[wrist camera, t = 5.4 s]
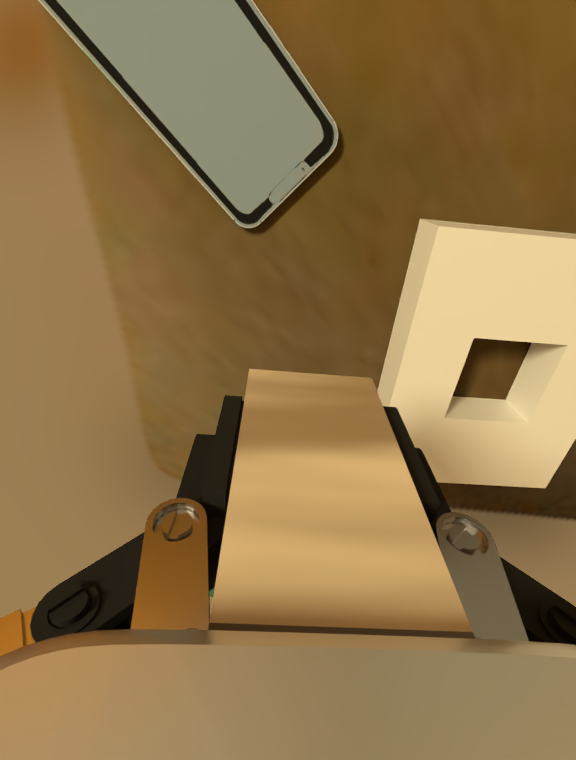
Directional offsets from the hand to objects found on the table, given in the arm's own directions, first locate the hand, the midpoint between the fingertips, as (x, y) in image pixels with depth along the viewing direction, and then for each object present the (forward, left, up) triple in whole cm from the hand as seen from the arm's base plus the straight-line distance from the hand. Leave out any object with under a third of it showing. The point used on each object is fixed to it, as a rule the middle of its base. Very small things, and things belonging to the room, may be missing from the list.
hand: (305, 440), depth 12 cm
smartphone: (-12, -6, -15) cm, 20 cm away
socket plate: (+3, +14, -14) cm, 20 cm away
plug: (0, 0, -1) cm, 1 cm away
